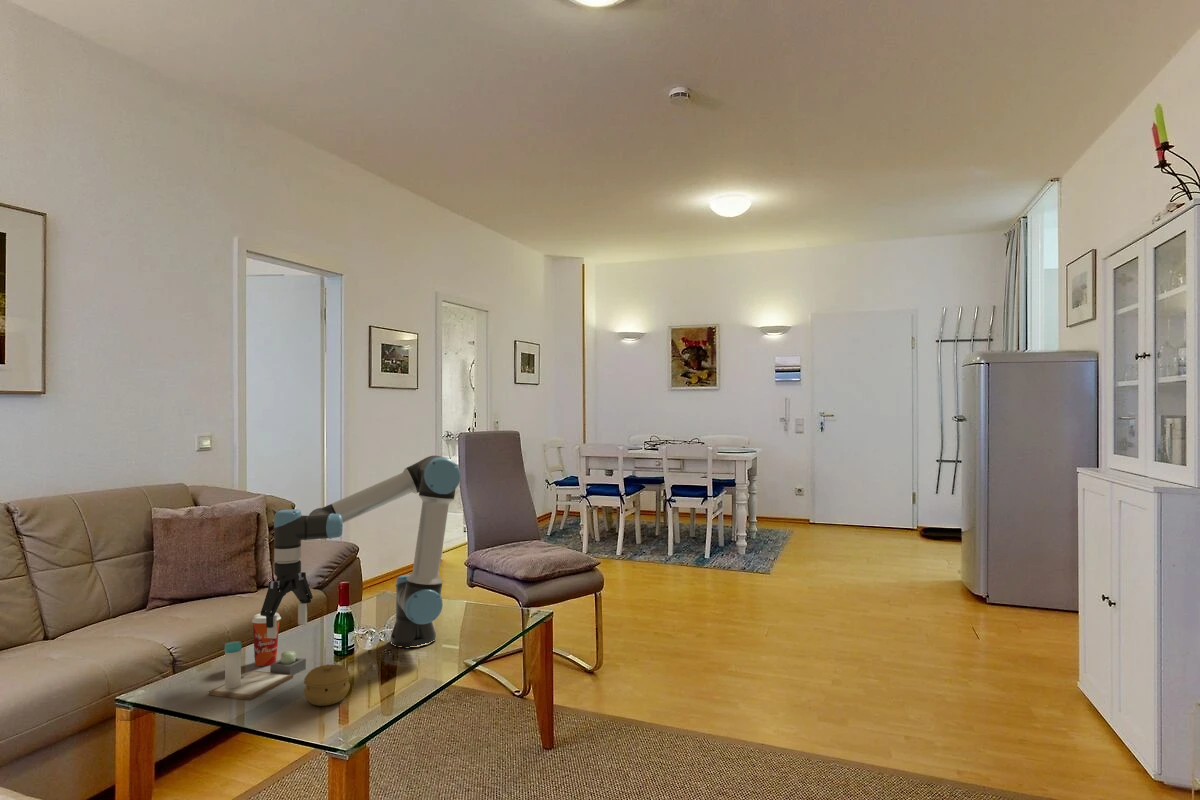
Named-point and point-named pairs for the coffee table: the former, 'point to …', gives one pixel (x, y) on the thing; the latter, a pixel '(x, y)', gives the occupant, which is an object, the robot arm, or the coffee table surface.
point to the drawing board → (252, 685)
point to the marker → (232, 665)
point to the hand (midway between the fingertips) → (287, 631)
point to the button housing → (288, 667)
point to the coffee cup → (264, 641)
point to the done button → (288, 657)
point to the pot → (326, 684)
